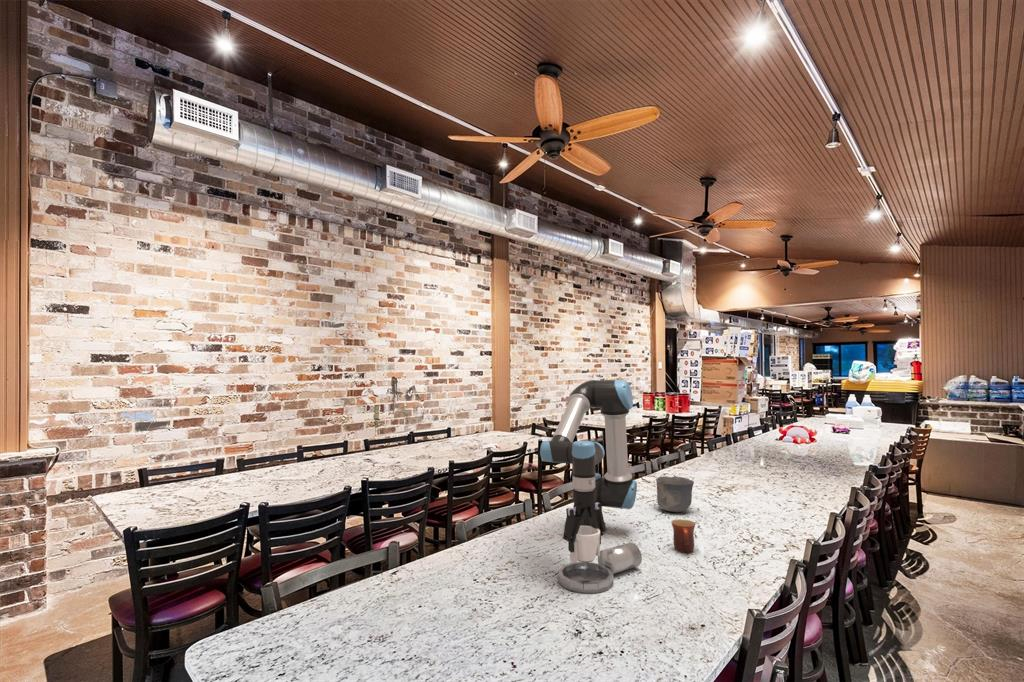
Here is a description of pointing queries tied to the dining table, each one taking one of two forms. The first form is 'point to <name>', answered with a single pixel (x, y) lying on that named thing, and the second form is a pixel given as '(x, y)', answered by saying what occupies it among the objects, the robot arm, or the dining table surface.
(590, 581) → the grey saucepan
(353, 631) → the dining table surface
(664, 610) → the dining table surface
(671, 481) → the bowl
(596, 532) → the cup
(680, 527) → the mug
